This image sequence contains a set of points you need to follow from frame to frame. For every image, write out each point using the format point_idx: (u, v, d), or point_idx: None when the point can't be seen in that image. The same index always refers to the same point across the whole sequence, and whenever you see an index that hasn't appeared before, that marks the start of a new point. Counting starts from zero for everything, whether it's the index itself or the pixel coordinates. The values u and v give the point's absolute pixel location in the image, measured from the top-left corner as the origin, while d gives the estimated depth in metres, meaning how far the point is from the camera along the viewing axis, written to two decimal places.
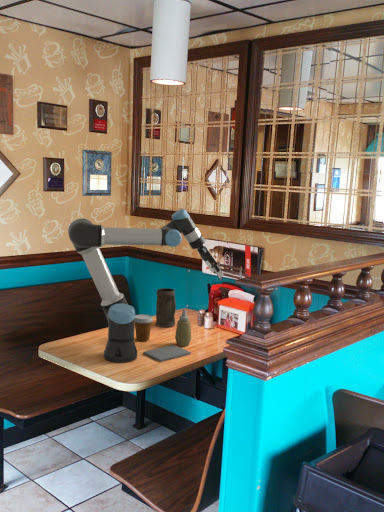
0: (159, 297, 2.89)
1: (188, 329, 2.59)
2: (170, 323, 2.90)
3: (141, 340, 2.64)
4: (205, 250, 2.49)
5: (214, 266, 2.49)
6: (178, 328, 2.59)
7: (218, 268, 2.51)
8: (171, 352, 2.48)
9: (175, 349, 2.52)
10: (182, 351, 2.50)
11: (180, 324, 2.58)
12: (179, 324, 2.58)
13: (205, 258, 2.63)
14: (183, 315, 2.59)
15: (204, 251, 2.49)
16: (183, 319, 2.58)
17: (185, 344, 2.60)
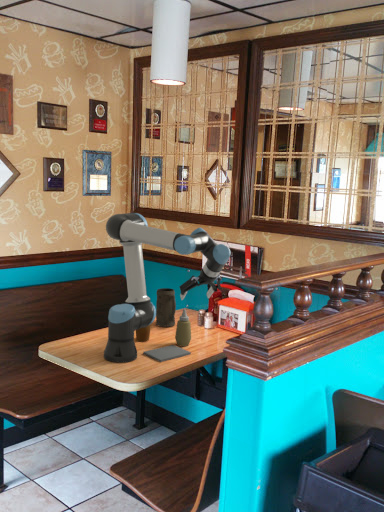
0: (159, 297, 2.89)
1: (188, 329, 2.59)
2: (170, 323, 2.90)
3: (141, 340, 2.64)
4: (192, 279, 2.34)
5: None
6: (178, 328, 2.59)
7: (182, 293, 2.41)
8: (171, 352, 2.48)
9: (175, 349, 2.52)
10: (182, 351, 2.50)
11: (180, 324, 2.58)
12: (179, 324, 2.58)
13: None
14: (183, 315, 2.59)
15: (191, 278, 2.35)
16: (183, 319, 2.58)
17: (185, 344, 2.60)
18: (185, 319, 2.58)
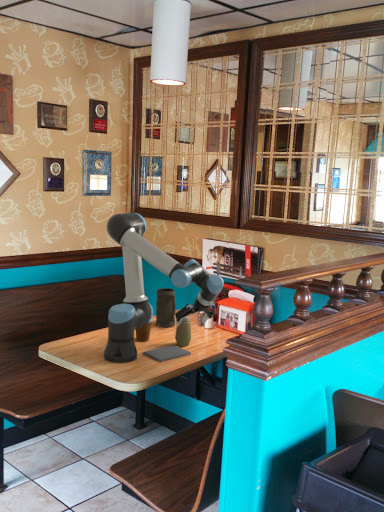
0: (159, 297, 2.89)
1: (188, 329, 2.59)
2: (170, 323, 2.90)
3: (141, 340, 2.64)
4: (187, 307, 2.42)
5: None
6: (178, 328, 2.59)
7: (177, 319, 2.49)
8: (171, 352, 2.48)
9: (175, 349, 2.52)
10: (182, 351, 2.50)
11: (180, 324, 2.58)
12: None
13: None
14: None
15: (186, 306, 2.42)
16: (183, 319, 2.58)
17: (185, 344, 2.60)
18: (185, 319, 2.58)
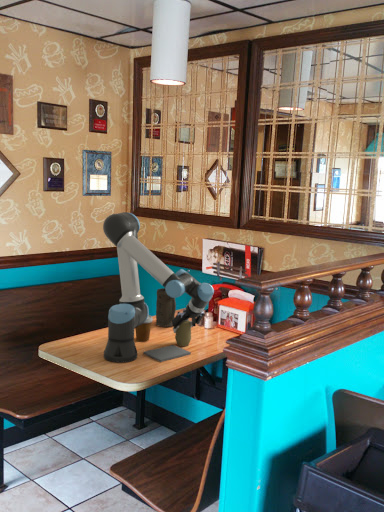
0: (159, 297, 2.89)
1: (188, 329, 2.59)
2: (170, 323, 2.90)
3: (141, 340, 2.64)
4: (178, 315, 2.50)
5: None
6: (178, 328, 2.59)
7: (174, 327, 2.59)
8: (171, 352, 2.48)
9: (175, 349, 2.52)
10: (182, 351, 2.50)
11: (180, 324, 2.58)
12: None
13: (192, 320, 2.60)
14: None
15: (177, 314, 2.51)
16: None
17: (185, 344, 2.60)
18: None
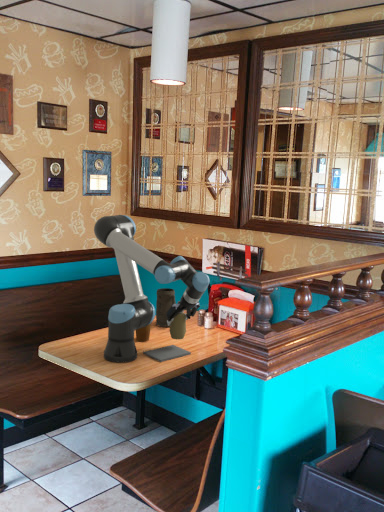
0: (159, 297, 2.89)
1: (183, 322, 2.51)
2: None
3: (141, 340, 2.64)
4: (172, 307, 2.43)
5: None
6: (172, 321, 2.51)
7: (168, 319, 2.51)
8: (171, 352, 2.48)
9: (175, 349, 2.52)
10: (182, 351, 2.50)
11: (175, 316, 2.50)
12: None
13: (187, 313, 2.52)
14: None
15: (172, 306, 2.43)
16: None
17: (180, 337, 2.52)
18: None
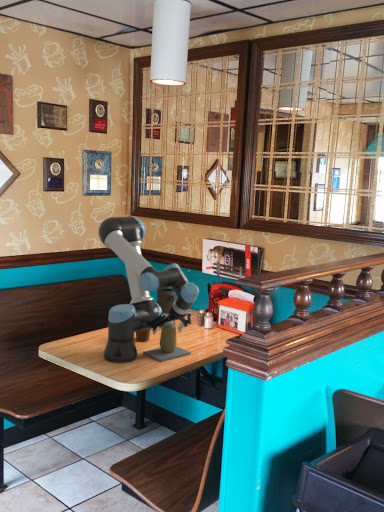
0: (159, 297, 2.89)
1: (173, 335, 2.46)
2: None
3: (141, 340, 2.64)
4: (162, 316, 2.36)
5: None
6: (162, 334, 2.46)
7: (153, 328, 2.43)
8: (171, 352, 2.48)
9: (175, 349, 2.52)
10: (182, 351, 2.50)
11: (165, 329, 2.45)
12: (164, 329, 2.45)
13: None
14: None
15: (161, 315, 2.36)
16: (168, 324, 2.45)
17: (170, 350, 2.46)
18: (170, 324, 2.45)
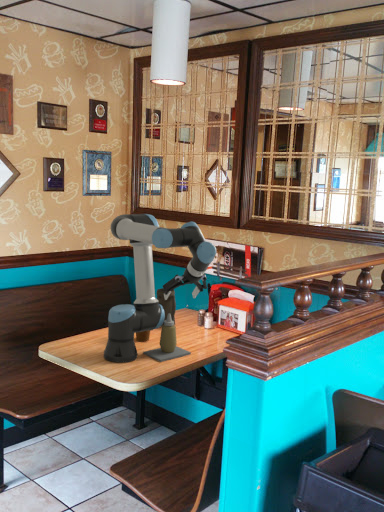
0: (159, 297, 2.89)
1: (173, 335, 2.46)
2: None
3: (141, 340, 2.64)
4: (175, 278, 2.21)
5: None
6: (162, 334, 2.46)
7: (165, 292, 2.28)
8: (171, 352, 2.48)
9: (175, 349, 2.52)
10: (182, 351, 2.50)
11: (165, 329, 2.45)
12: (163, 329, 2.45)
13: None
14: (168, 320, 2.46)
15: (175, 277, 2.21)
16: (168, 324, 2.45)
17: (170, 350, 2.46)
18: (170, 324, 2.45)
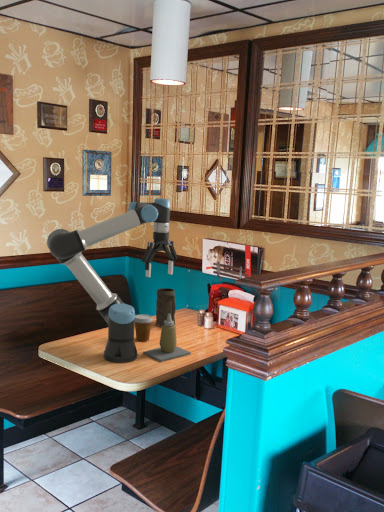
0: (159, 297, 2.89)
1: (173, 335, 2.46)
2: None
3: (141, 340, 2.64)
4: (149, 244, 2.48)
5: (144, 262, 2.48)
6: (162, 334, 2.46)
7: (146, 267, 2.48)
8: (171, 352, 2.48)
9: (175, 349, 2.52)
10: (182, 351, 2.50)
11: (165, 329, 2.45)
12: (163, 329, 2.45)
13: (169, 257, 2.58)
14: (168, 320, 2.46)
15: (148, 244, 2.48)
16: (168, 324, 2.45)
17: (170, 350, 2.46)
18: (170, 324, 2.45)
